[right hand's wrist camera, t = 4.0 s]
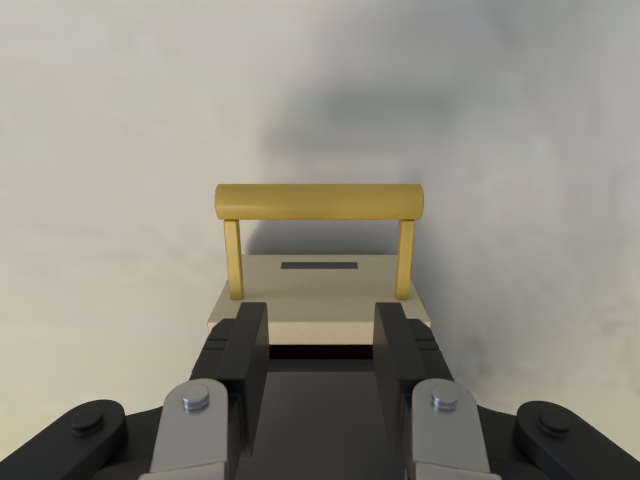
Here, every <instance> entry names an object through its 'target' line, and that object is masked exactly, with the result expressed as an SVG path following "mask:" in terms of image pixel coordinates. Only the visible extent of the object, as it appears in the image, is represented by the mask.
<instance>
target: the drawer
mask: <svg viewBox="0 0 640 480" xmlns="http://www.w3.org/2000/svg"><path fill="white" fill-rule="evenodd" d="M423 206H424V195H423V189H422V186H421V185H420V184H219V185H217V187H216V191H215V210H216V214H217V217H218V219H220V220H224V232H225V244H226V256H227V268H228V280H227V282H226V284H225V286H224V288H223V290H222V293H221V295H220V297H219V299H218V301H217V303H216V305H215V307H214V309H213V311H212V313H211V315H210V318H209V320H208V322H207V325H208V334H210V332H211V330H212V328H213V327H214V326H215V325H216V324H217V323H219V322H220V321H221V320H222V319H223V318H236V316H237V313H238V310H239V308H240V305H241V303H242V302H266V303H267V310H268V330H269V359H373V329H374V310H375V303H376V302H400V303H401V305H402V307H403V310H404V313H405V315H406V318H407V319H420V320H421V321H422V322H423V323H425V324H426V325H427V326H428V327H429V328H430V329H431V321H430V319H429V317H428V314H427V312H426V310H425V308H424V306H423V304H422V302H421V300H420V298H419V295H418V293H417V291H416V289H415V287H414V285H413V283H412V281H411V279H410V274H411V262H412V250H413V238H414V226H415V221H414V220H418V219H420V218H421V216H422V212H423ZM239 220H400V222H399V236H398V250H397V255H241V243H240V229H239Z"/></svg>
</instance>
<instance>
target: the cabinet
mask: <svg viewBox="0 0 640 480" xmlns="http://www.w3.org/2000/svg"><path fill="white" fill-rule="evenodd" d="M208 336H209V335H208ZM207 339H208V338H207ZM206 341H207V340H206ZM205 343H206V342H205ZM204 345H205V344H204ZM202 351H203V349H202ZM202 351H201V352H202ZM200 354H201V353H200ZM199 356H200V355H199ZM198 359H199V358H198ZM197 361H198V360H197ZM197 361H196V363H197ZM195 365H196V364H195ZM194 368H195V366H194ZM194 368H193V370H194ZM193 370H192V372H193ZM235 476H236V480H404V476H405V465H404V460H403V458H391V455H390V450H389V445H388V440H387V434H386V429H385V424H384V419H383V413H382V408H381V403H380V398H379V393H378V387H377V382H376V377H375V372H374V366H373V359H269V365H268V371H267V377H266V382H265V388H264V393H263V399H262V404H261V409H260V415H259V420H258V426H257V431H256V437H255V442H254V447H253V453H252V457H240V459H239V463H238V468H237V472H236V475H235Z"/></svg>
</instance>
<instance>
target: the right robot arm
mask: <svg viewBox="0 0 640 480" xmlns="http://www.w3.org/2000/svg"><path fill="white" fill-rule="evenodd" d="M268 365H269V330H268V310H267V303H266V302H242V303H241V305H240V308H239V310H238V313H237V316H236V318H223V319H222V320H221V321H220V322H219V323H217V324H216V325H215V326H214V327H213V328H212V330H211V332H210V334H209V336H208V339H207V341H206V343H205V345H204V347H203V351H202V352H201V354H200V356H199V359H198V361H197V363H196V365H195V368H194V370H193V372H192V374H191V377H190V379H189V381H187V382H185V383H182V384H181V385H179V386H177V387H176V388H174V389H173V390H172V391H171V392H170V393H169V394H168V395H167V397H166V399H165V401H164V405H163V406H161V407H158V408H156V409H152V410H148V411H144V412H140V413H135V414H131V415H127V416H125V412H124V409H123V407H122V405H120V404H119V403H118V402H116V401H112V400H95V401H91V402H87V403H84V404H81V405H79V406H77V407H75V408H73V409H71V410H70V411H68V412H67V413H65V414H64V415H62V416H61V417H60V418H58V419H57V420H56V421H54V422H53V423H52V424H50V425H49V426H48V427H46V428H45V429H44V430H42V431H41V432H40V433H38V434H37V435H36V436H34V437H33V438H32V439H30V440H29V441H28V442H26V443H25V444H24V445H22V446H21V447H20V448H18V449H17V450H16V451H14V452H13V453H12V454H10V455H9V456H8V457H6V458H5V459H4V460H2V461H1V462H0V480H236V476H235V475H236V472H237V468H238V463H239V459H240V457H252V453H253V447H254V442H255V437H256V431H257V426H258V420H259V415H260V409H261V404H262V399H263V393H264V388H265V382H266V377H267V371H268ZM373 366H374V372H375V377H376V382H377V387H378V393H379V398H380V403H381V408H382V413H383V419H384V424H385V429H386V434H387V440H388V445H389V450H390V455H391V458H403V460H404V465H405V476H404V480H640V462H639V461H638V460H636V459H635V458H634V457H632V456H631V455H630V454H628V453H627V452H626V451H624V450H623V449H622V448H620V447H619V446H618V445H616V444H615V443H614V442H612V441H611V440H610V439H608V438H607V437H606V436H604V435H603V434H602V433H600V432H599V431H598V430H596V429H595V428H594V427H592V426H591V425H590V424H588V423H587V422H586V421H584V420H583V419H582V418H580V417H579V416H578V415H576V414H575V413H573V412H572V411H570V410H568V409H566V408H564V407H562V406H560V405H557V404H554V403H550V402H546V401H530V402H526V403H524V404H522V405H521V406H520V407H519V409H518V411H517V416H514V415H510V414H506V413H502V412H497V411H493V410H490V409H486V408H484V407H481V406H479V405H477V404H476V401H475V399H474V397H473V395H472V394H471V393H470V392H469V391H468V390H467V389H466V388H464V387H463V386H461V385H459V384H458V383H455V382H454V380H453V378H452V375H451V373H450V371H449V369H448V367H447V364H446V362H445V360H444V358H443V356H442V353H441V351H439V347H438V345H437V342H436V341H435V338H434V336H433V334H432V331H431V329H430V328H429V327H428V326H427V325H426V324H425V323H423V322H422V321H421V320H420V319H407V318H406V315H405V313H404V310H403V307H402V305H401V303H400V302H376V303H375V310H374V329H373Z"/></svg>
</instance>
